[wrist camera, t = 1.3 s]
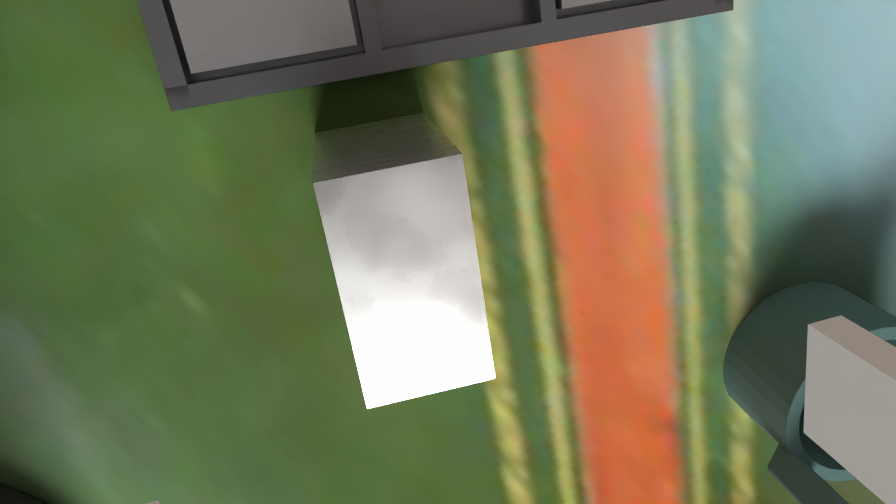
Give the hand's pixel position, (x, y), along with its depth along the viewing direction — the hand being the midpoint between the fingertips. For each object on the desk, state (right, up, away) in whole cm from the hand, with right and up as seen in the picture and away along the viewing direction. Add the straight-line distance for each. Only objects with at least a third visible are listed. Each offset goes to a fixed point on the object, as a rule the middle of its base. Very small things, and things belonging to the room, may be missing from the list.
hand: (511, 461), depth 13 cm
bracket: (+17, -1, +22) cm, 28 cm away
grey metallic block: (-4, +6, +15) cm, 17 cm away
